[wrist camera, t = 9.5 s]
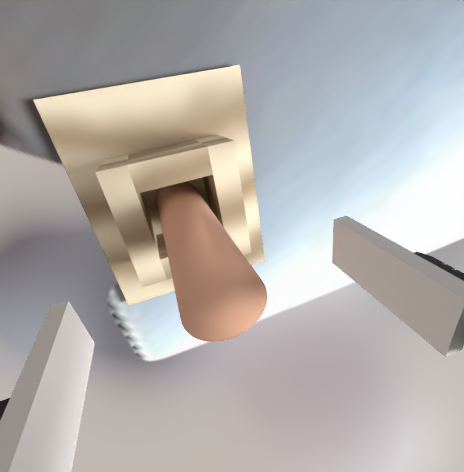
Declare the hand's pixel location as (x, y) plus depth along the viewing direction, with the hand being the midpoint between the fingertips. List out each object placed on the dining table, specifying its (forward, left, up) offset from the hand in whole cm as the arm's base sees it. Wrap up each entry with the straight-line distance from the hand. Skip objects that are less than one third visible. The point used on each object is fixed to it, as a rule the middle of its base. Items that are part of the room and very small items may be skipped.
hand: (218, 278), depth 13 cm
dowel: (0, 0, -14) cm, 14 cm away
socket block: (0, 0, -15) cm, 15 cm away
